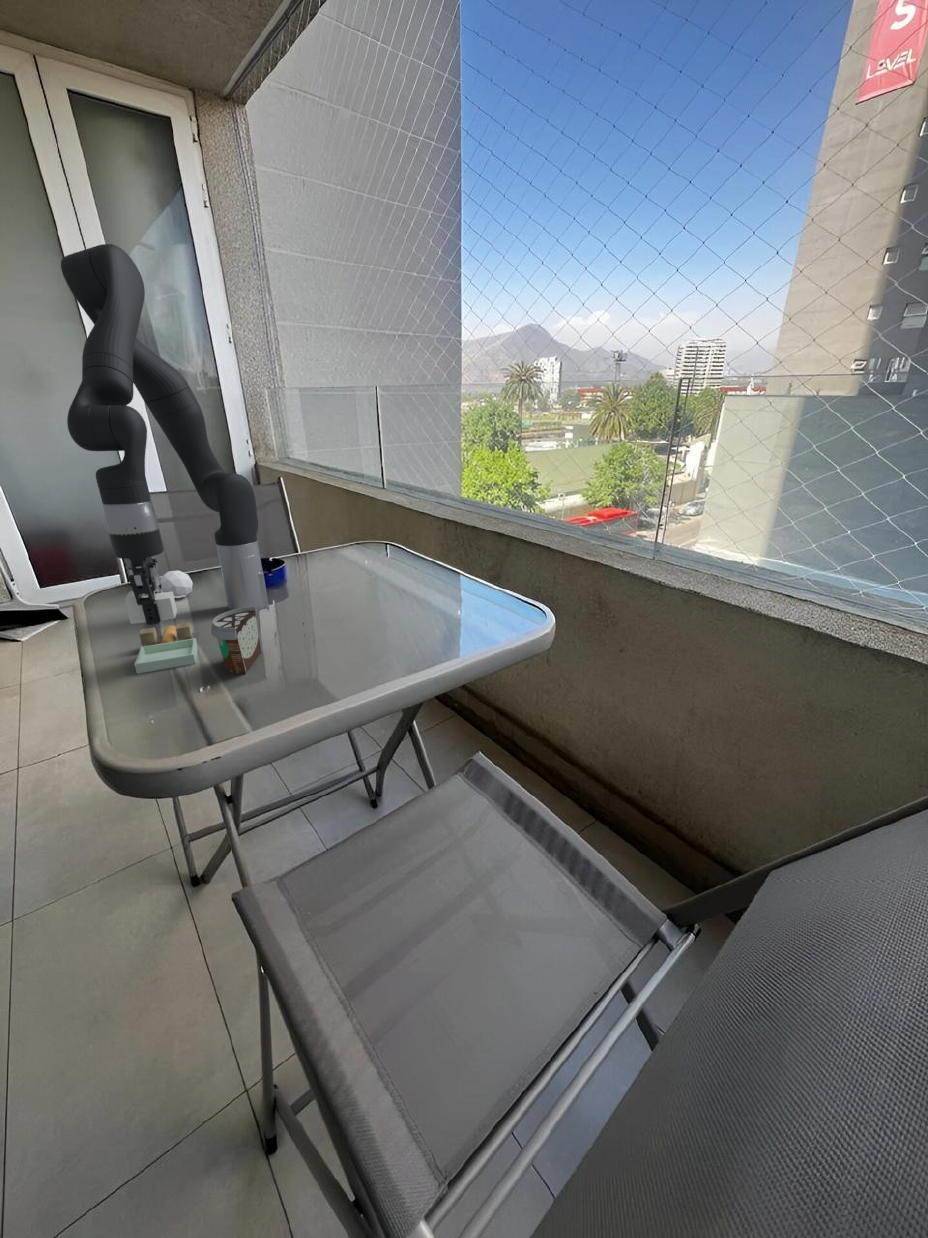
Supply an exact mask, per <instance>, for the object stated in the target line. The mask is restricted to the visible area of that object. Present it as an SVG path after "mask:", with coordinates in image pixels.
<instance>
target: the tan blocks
mask: <svg viewBox="0 0 928 1238" xmlns="http://www.w3.org/2000/svg"><path fill="white" fill-rule="evenodd" d="M175 627H176V632H177V636H178V640H179V641H181V640H188V639H194V637H193V633H194V632H193V630H192V625H191V622H190V621H188V622H182V623H177V624H176V626H175ZM158 638H159V637H158V634H157V630H156V627H149V628H148V627H147V628H143V629H140V631H139V639H140V642H141V645H142V646H141V647H144V646H150V645H156V644H159V641H158Z"/></svg>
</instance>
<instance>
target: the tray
mask: <svg viewBox="0 0 928 1238" xmlns="http://www.w3.org/2000/svg"><path fill="white" fill-rule="evenodd" d="M197 648H198V649H199V645H198V646H197V641H196V638H194V639H188V640H181V641H175V642H169V643H163V644H156V645H150V646H144V647H143V646H141V647H140V650H139V652H138V655H137V657H136V660H135V662H134V668H135V671H136V675H140V674H139V673H142V674H146V673H145V672H147V673H152V672H151V671H153V672H157V671H156V670H159V671H163V670H162V669H164V670H168V669H167V668H170V669H174V668H173V667H176V668H180V667H179V666H181V667H185V666H184V665H187V666H191V665H190V664H193V665H196V663H197V657H196V656H198V649H197Z"/></svg>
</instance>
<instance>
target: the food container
mask: <svg viewBox="0 0 928 1238" xmlns="http://www.w3.org/2000/svg"><path fill="white" fill-rule="evenodd" d="M258 616H259V614H258V611H257V609H256V607H245V608H239V609H235V610H231V611H229V610H228V611H225V612H223V613H220V614H218V615H216V616H215V617H214V618H213V619H212V623H211V627H210V628H211V630H210V631H211V633H210V634H211V636H212V637H214V638H216V639H217V643H218V647H219V650H220V653H221V656H222V659H223V662H224V666H225V668H226V671H228V672H229V673H232V674H236V675H246V674H247V673H248V672H249V671H250V669H251V668H252V666H253V665H254V663H255V662H256V661H257V659H258V658H259V657H260V655H261V654H262V653H263V649H262V643H261V636H260V628H259V620H258Z"/></svg>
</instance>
